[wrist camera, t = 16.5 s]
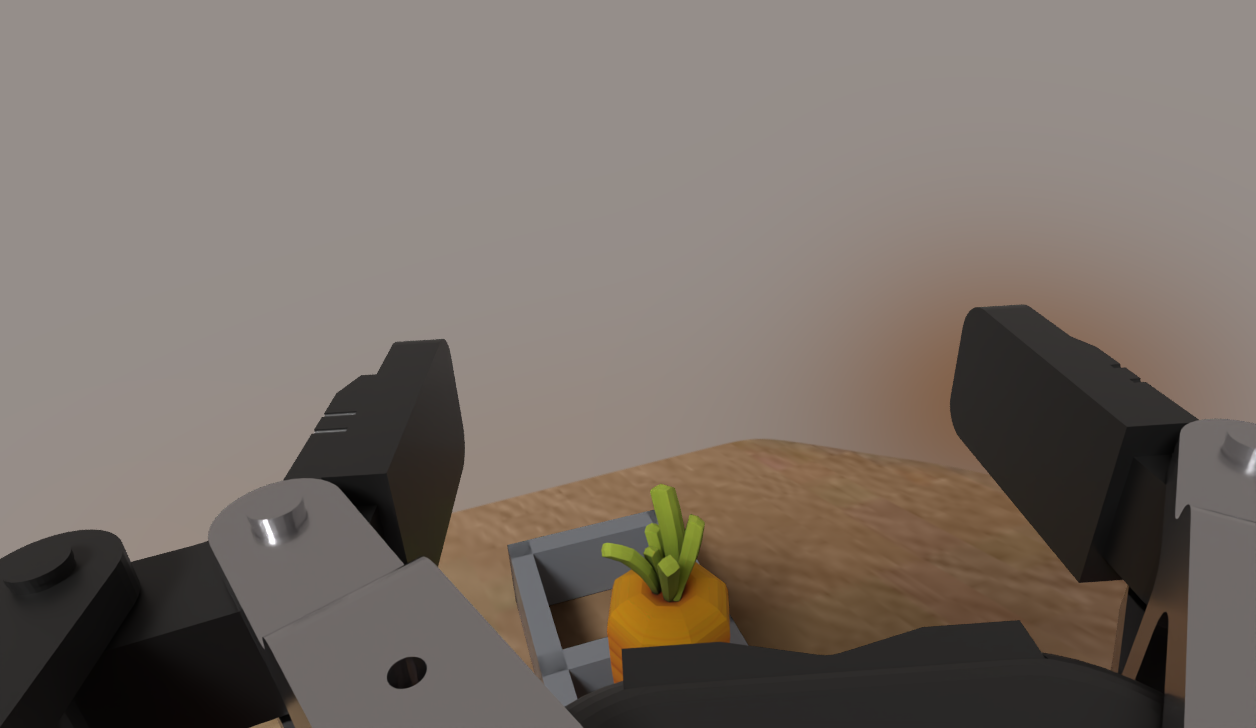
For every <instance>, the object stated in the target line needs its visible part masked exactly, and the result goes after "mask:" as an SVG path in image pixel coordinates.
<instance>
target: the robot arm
mask: <svg viewBox="0 0 1256 728" xmlns="http://www.w3.org/2000/svg"><path fill="white" fill-rule="evenodd" d="M950 412H951V418H952V422H953V426H954V429H955V431H956V433H957V435H958V436H959V438H960V439H961V440H962V441H963V442H964V444H965V445H966V446H967V447H968V449H969V450H970V451H971V452H972V453H973V455H974V456H975V457H976V458H977V460H978V461H979V462H980V463H981V464H982V466H983V467H984V468H985V469H986V470H987V472H988V473H989V474H990V475H991V477H992V478H993V479H994V480H995V481H996V483H997V484H998V485H999V486H1000V487H1001V489H1002V490H1003V491H1004V492H1005V494H1006V495H1007V496H1008V497H1009V498H1010V500H1011V501H1012V502H1013V503H1014V504H1015V506H1016V507H1017V508H1018V509H1019V511H1020V512H1021V513H1022V514H1023V515H1024V517H1025V518H1026V519H1027V520H1028V521H1029V523H1030V524H1031V525H1032V526H1033V528H1034V529H1035V530H1036V531H1037V532H1038V534H1039V535H1040V536H1041V537H1042V538H1043V540H1044V541H1045V542H1046V543H1047V545H1048V546H1049V547H1050V548H1051V549H1052V551H1053V552H1054V553H1055V554H1056V555H1057V557H1058V558H1059V559H1060V560H1061V562H1062V563H1063V564H1064V565H1065V566H1066V568H1067V569H1068V570H1069V571H1070V572H1071V574H1072V575H1073V576H1074V577H1075V579H1076V580H1077V581H1078V582H1079V583H1083V582H1098V581H1112V580H1124V581H1125V582H1126V583H1127V584H1128V585H1127V588H1126V590H1125V593H1124V596H1123V599H1122V602H1121V605H1120V609H1119V616H1118V623H1117V631H1116V638H1115V645H1114V653H1113V660H1112V667H1111V670H1108V669H1106V668H1103V667H1099V666H1096V665H1093V664H1090V663H1086V662H1083V661H1080V660H1076V659H1072V658H1067V657H1063V656H1058V655H1054V654H1048V653H1041V651H1040V650H1039V648H1038V647H1037V645H1036V644H1035V642H1034V641H1033V639H1032V638H1031V636H1030V635H1029V633H1028V632H1027V631H1026V629H1025V628H1024V626H1023V625H1022V623H1021V622H1020V620H1017V621H1003V622H989V623H975V624H961V625H947V626H933V627H922V628H919V629H916V630H912V631H909V632H906V633H903V634H900V635H896V636H893V637H890V638H887V639H884V640H880V641H877V642H874V643H871V644H868V645H865V646H861V647H858V648H855V649H852V650H849V651H845V652H842V653H839V654H834V655H815V654H808V653H800V652H793V651H785V650H778V649H771V648H763V647H756V646H748V645H741V644H733V643H726V642H709V643H695V644H681V645H667V646H653V647H639V648H625V649H621V650H622V669H623V681H620V682H617V683H614V684H611V685H608V686H605V687H603V688H600V689H598V690H596V691H594V692H591V693H589V694H587V695H584V696H582V697H580V698H579V699H577V700H575V701H573V702H572V703H570V704H568V705H567V706H565V707H564V706H563V705H562V704H561V702H560V701H559V700H558V699H557V698H556V697H555V696H554V695H553V694H552V693H551V691H550V690H549V689H548V688H547V687H546V686H545V685H544V684H543V683H542V682H541V680H540V679H539V678H538V677H537V676H536V675H535V674H534V673H533V672H532V670H531V669H530V668H529V667H528V666H527V665H526V664H525V663H524V662H523V661H522V659H521V658H520V657H519V656H518V655H517V654H516V653H515V652H514V651H513V650H512V648H511V647H510V646H509V645H508V644H507V643H506V642H505V641H504V640H503V639H502V637H501V636H500V635H499V634H498V633H497V632H496V631H495V630H494V629H493V628H492V626H491V625H490V624H489V623H488V622H487V621H486V620H485V619H484V618H483V617H482V615H481V614H480V613H479V612H478V611H477V610H476V609H475V608H474V607H473V605H472V604H471V603H470V602H469V601H468V600H467V599H466V598H465V597H464V596H463V594H462V593H461V592H460V591H459V590H458V589H457V588H456V587H455V586H454V585H453V583H452V582H451V581H450V580H449V579H448V578H447V577H446V576H445V575H444V574H443V572H442V571H441V570H440V569H439V568H438V564H439V560H440V556H441V553H442V549H443V545H444V541H445V537H446V533H447V529H448V525H449V521H450V517H451V513H452V509H453V506H454V501H455V498H456V494H457V490H458V486H459V482H460V478H461V474H462V470H463V465H464V455H465V442H464V430H463V424H462V417H461V412H460V407H459V400H458V394H457V388H456V383H455V377H454V371H453V365H452V359H451V354H450V350H449V346H448V344H447V342H446V340H445V339H436V340H422V341H421V340H420V341H404V342H395V343H394V344H393V345H392V347H391V349H390V351H389V352H388V355H387V356H386V358H385V360H384V362H383V364H382V365H381V367H380V369H379V371H378V373H377V374H376V375H361V376H360V377H358V378H357V379H355V380H354V381H353V382H351V383H350V384H349V385H347V386H346V387H345V388H343V389H342V390H340V391H339V392H338V393H336V395H335V397H334V398H333V400H332V402H331V403H330V405H329V407H328V408H327V410H326V411H325V413H324V414H325V417H322V418H321V420H320V421H319V423H318V424H317V426H316V428H315V429H314V430H315V434H311V436H310V438H309V439H308V441H307V442H306V444H305V446H304V448H303V449H302V451H301V452H300V454H299V456H298V457H297V459H296V461H295V462H294V464H293V465H292V467H291V469H290V470H289V472H288V473H287V475H286V477H285V478H284V480H283V481H280V482H276V483H273V484H269V485H266V486H263V487H260V488H258V489H256V490H254V491H251V492H249V493H248V494H246V495H244V496H242V497H240V498H238V499H237V500H235V501H234V502H232V503H231V504H230V505H228V506H227V507H226V508H225V509H224V510H223V511H221V513H220V514H219V515H218V516H217V517H216V518H215V520H214V521H213V523H212V524H211V526H210V529H209V533H208V540H209V541H207V542H204V543H201V544H197V545H194V546H190V547H186V548H183V549H179V550H175V551H171V552H167V553H164V554H160V555H156V556H152V557H148V558H145V559H141V560H137V561H133V562H130V559H129V557H128V555H127V552H126V550H125V548H124V546H123V544H122V542H121V540H120V539H119V538H118V537H117V536H116V535H114V534H112V533H110V532H106V531H102V530H79V531H72V532H66V533H63V534H58V535H54V536H51V537H48V538H45V539H42V540H39V541H37V542H34V543H31V544H29V545H26V546H24V547H22V548H20V549H18V550H16V551H14V552H12V553H10V554H8V555H7V556H5V557H3V558H1V559H0V728H249V727H252V726H255V725H258V724H261V723H264V722H267V721H270V720H273V719H275V718H277V720H278V723H279V725H280V727H281V728H1256V424H1254V423H1250V422H1244V421H1238V420H1229V419H1204V420H1199V419H1197V418H1196V417H1194V416H1193V415H1191V414H1190V413H1189V412H1187V411H1186V410H1184V409H1183V408H1182V407H1180V406H1179V405H1177V404H1176V403H1175V402H1173V401H1172V400H1170V399H1169V398H1168V397H1166V396H1165V395H1163V394H1162V393H1160V392H1159V391H1157V390H1156V389H1155V388H1153V387H1152V386H1151V385H1149V384H1148V383H1146V382H1141V381H1140V378H1139V377H1138V376H1137V375H1135V374H1134V373H1132V372H1131V371H1129V370H1128V369H1127V368H1121V367H1120V364H1119V363H1118V362H1117V361H1115V360H1114V359H1113V358H1111V357H1110V356H1108V355H1107V354H1106V353H1104V352H1103V351H1101V350H1100V349H1099V348H1097V347H1095V346H1093V345H1090V344H1088V343H1085V342H1083V341H1081V340H1078V339H1075V338H1073V337H1071V336H1069V335H1068V334H1066V333H1065V332H1064V331H1062V330H1061V329H1059V328H1058V327H1056V325H1054V324H1053V323H1051V322H1050V321H1049V320H1047V319H1046V318H1044V317H1043V316H1042V315H1040V314H1039V313H1038V312H1036V311H1035V310H1033V309H1032V308H1031V307H1029V306H1027V305H1009V306H992V307H976V308H973V309H972V310H970V311H969V313H968V314H967V316H966V318H965V321H964V325H963V330H962V335H961V341H960V347H959V353H958V358H957V364H956V369H955V375H954V381H953V387H952V392H951V399H950Z"/></svg>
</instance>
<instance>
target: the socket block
mask: <svg viewBox="0 0 1256 728" xmlns="http://www.w3.org/2000/svg"><path fill="white" fill-rule="evenodd" d="M651 523H656V524H658V520H657V517H656V513H655V510H651V511H647V512H643V513H639V514H634V515H630V516H626V517H622V518H618V519H614V520H610V521H605V522H601V523H597V524H593V525H589V526H585V527H580V528H576V529H572V530H568V531H564V532H560V533H556V534H551V535H547V536H543V537H539V538H535V539H531V540H527V541H522V542H518V543H514V544H510V545H507V546H508V553H509V559H510V566H511V572H512V579H513V586H514V592H515V599H516V603H517V607H518V610H519V614H520V618H521V622H522V626H523V630H524V634H525V638H526V642H527V646H528V650H529V653H530V657H531V661H532V665H533V669H534V673H535V675H536V676H537V677H538V678H539V679H540V680H541V682H542V683H543V684H544V685H545V686H546V687H547V688H548V689H549V690H550V691H551V693H552V694H553V695H554V696H555V697H556V698H557V699H558V700H559V701H560V702H561V704H562V705H563V706H564V707H565V706H567V705H568V704H570V703H572V702H573V701H575V700H577V699H579V698H580V697H582V696H584V695H587V694H589V693H591V692H594V691H596V690H598V689H600V688H603V687H605V686H608V685H611V684H614V681H613V674H612V668H611V660H610V651H609V642H608V637H605V638H602V639H598V640H595V641H591V642H588V643H584V644H581V645H577V646H574V647H570V648H566V649H563V650H562V647H561V644H560V641H559V637H558V634H557V631H556V628H555V624H554V621H553V618H552V615H551V611H550V608H549V605H552V604H556V603H560V602H564V601H567V600H571V599H575V598H579V597H582V596H586V595H590V594H594V593H598V592H601V591H605V590H609V589H613V584H614V581H615V580H616V579H617V578H619V577H620V576H622V575H623V574H625V573H627V572H628V571H630V570H631V569H630V568H629V567H627V566H626V565H624V564H623V563H621V562H619V561H615V560H612V559H609V558H605V557H602V552H601V549H602V545H603V544H604V543H613V544H619V545H623V546H626V547H629V548H632V549H634V550H636V551H637V552H638V553H639V554H640V555H642V556H643V557H644V554H643V553H644V551H645V548H647V547H649V545H648V542H647V538H646V535H645V528H646V526H647V525H649V524H651ZM658 525H659V524H658ZM644 558H645V557H644ZM696 562H697V563H698V564H699V562H698V560H696ZM729 618H730V643H733V644H741V645H748V644H747V643H746V641H745V639H744V637H743V636H742V634H741V632H740V631H739V629H738V627H737V626H736V624H735V622H734V621H733V619H732V617H731V616H730V614H729Z"/></svg>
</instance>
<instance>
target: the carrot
mask: <svg viewBox="0 0 1256 728" xmlns="http://www.w3.org/2000/svg"><path fill="white" fill-rule="evenodd" d="M650 492H651V497H652V501H653V505H654V509H655V513H656V517H657V520H658V524H659V525H658V524H656V523H651V524H649V525H647V526H646V528H645V535H646V538H647V542H648V545H649V547H647V548H645V551H644V553H643V554H644V557H645V558H644V557H643V556H642V555H640V554H639V553H638V552H637V551H636V550H634V549H632V548H629V547H626V546H623V545H619V544H613V543H604V544H603V545H602V549H601V552H602V557H605V558H609V559H612V560H615V561H619V562H621V563H623V564H624V565H626V566H627V567H629V568H630V569H631V570H630V571H628V572H627V573H625V574H623V575H622V576H620V577H619V578H617V579H616V580H615V581H614V584H613V589H612V596H611V603H610V610H609V618H608V627H607V633H608V642H609V651H610V660H611V668H612V674H613V681H614V683H617V682H620V681H623V669H622V650H621V649H625V648H639V647H653V646H667V645H681V644H695V643H709V642H726V643H730V618H729V597H728V589H727V587H726V584H725V583H724V582H723V581H721V580H720V579H719V578H717V577H716V576H714V575H713V574H712V573H710V572H709V571H708V570H706V569H705V568H704V567H702V566H701V565H700V564H698V563H697V562H696V560H697V557H698V553H699V550H700V546H701V542H702V537H703V531H704V525H705V523H704V521H703V520H702V519H700V518H699V517H698V516H695V515H692V514H690V516H689V519H688V523H687V526H686V530H685V529H684V524H683V519H682V514H681V509H680V505H679V501H678V498H677V494H676V491H675V488H673V487H670V486H667V485H663V484H660V485H658V486H656V487H654V488H652V490H651V491H650Z"/></svg>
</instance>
